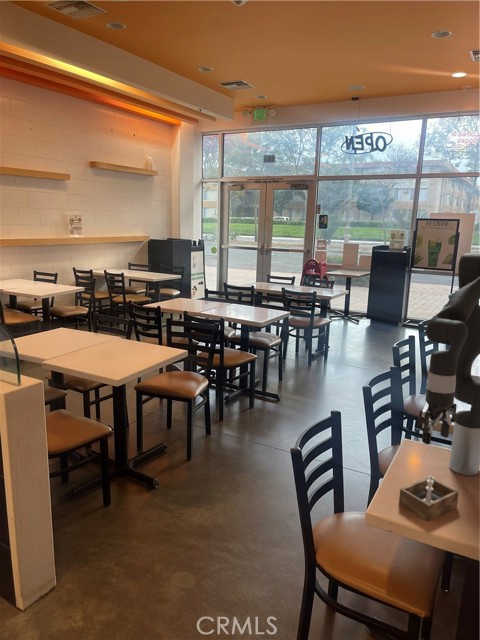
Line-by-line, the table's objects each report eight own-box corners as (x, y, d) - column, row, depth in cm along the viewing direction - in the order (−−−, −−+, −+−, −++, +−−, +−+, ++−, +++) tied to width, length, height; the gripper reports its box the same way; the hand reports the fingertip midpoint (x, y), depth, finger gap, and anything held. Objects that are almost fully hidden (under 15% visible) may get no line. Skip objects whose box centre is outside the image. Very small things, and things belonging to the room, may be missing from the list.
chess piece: (438, 511, 137) (441, 480, 135) (420, 508, 138) (423, 478, 136) (434, 501, 142) (437, 471, 140) (417, 499, 143) (420, 470, 141)
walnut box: (428, 491, 147) (429, 476, 146) (456, 507, 139) (458, 492, 138) (398, 503, 140) (400, 488, 139) (427, 521, 132) (429, 505, 131)
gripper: (444, 379, 139) (438, 429, 142) (413, 388, 131) (408, 440, 135) (467, 387, 133) (461, 439, 136) (436, 396, 125) (431, 451, 128)
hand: (435, 440), depth 135 cm, fingers open, 8 cm apart
